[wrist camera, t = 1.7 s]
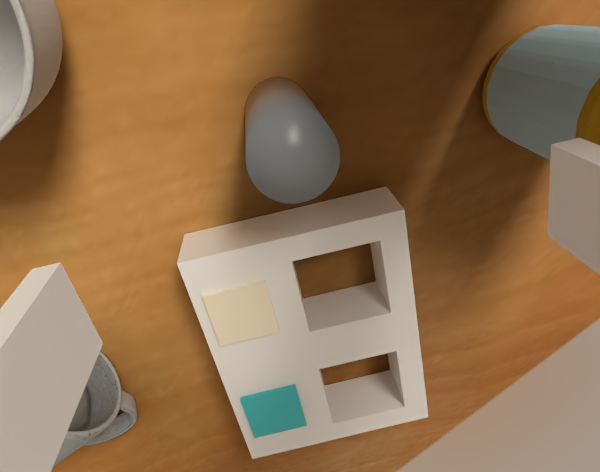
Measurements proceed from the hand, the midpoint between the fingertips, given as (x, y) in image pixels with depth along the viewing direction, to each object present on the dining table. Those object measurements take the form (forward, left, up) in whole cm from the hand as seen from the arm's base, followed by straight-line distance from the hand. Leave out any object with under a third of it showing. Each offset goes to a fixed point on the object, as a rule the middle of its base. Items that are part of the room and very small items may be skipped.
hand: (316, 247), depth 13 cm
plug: (0, 0, -18) cm, 18 cm away
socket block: (+1, +16, -18) cm, 24 cm away
